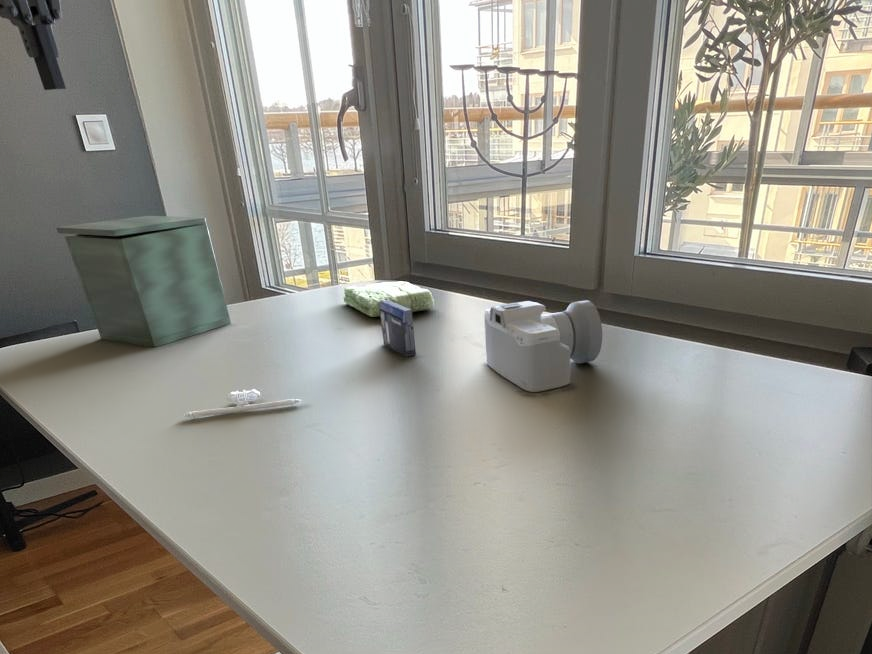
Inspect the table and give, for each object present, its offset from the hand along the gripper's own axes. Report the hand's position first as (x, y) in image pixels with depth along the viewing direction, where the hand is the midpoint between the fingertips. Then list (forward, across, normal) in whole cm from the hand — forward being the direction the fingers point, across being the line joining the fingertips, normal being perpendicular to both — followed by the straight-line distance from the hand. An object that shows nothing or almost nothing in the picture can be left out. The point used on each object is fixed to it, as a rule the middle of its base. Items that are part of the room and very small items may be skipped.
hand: (55, 89), depth 95 cm
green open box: (+32, +6, 0) cm, 33 cm away
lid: (+17, +6, 0) cm, 18 cm away
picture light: (+33, -16, -42) cm, 56 cm away
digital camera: (+33, +11, -70) cm, 78 cm away
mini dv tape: (+33, +12, -45) cm, 57 cm away
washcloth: (+33, +34, -26) cm, 54 cm away
